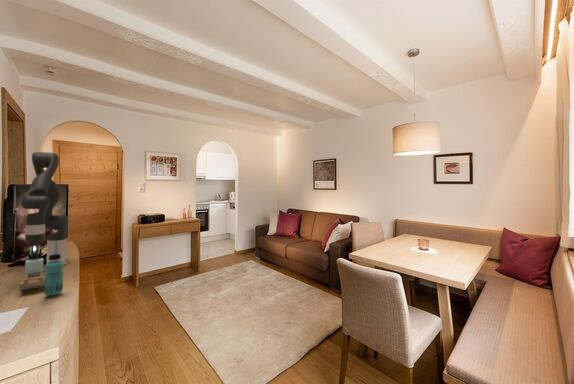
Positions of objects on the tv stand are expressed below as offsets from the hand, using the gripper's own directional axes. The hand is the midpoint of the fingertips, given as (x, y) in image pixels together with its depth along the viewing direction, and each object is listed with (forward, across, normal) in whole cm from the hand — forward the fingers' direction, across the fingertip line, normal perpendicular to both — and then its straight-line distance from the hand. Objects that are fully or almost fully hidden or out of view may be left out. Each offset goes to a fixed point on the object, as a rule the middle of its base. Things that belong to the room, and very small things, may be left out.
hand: (34, 265), depth 129 cm
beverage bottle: (+10, +25, +7) cm, 28 cm away
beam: (+10, +5, 0) cm, 11 cm away
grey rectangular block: (+4, +5, 0) cm, 6 cm away
